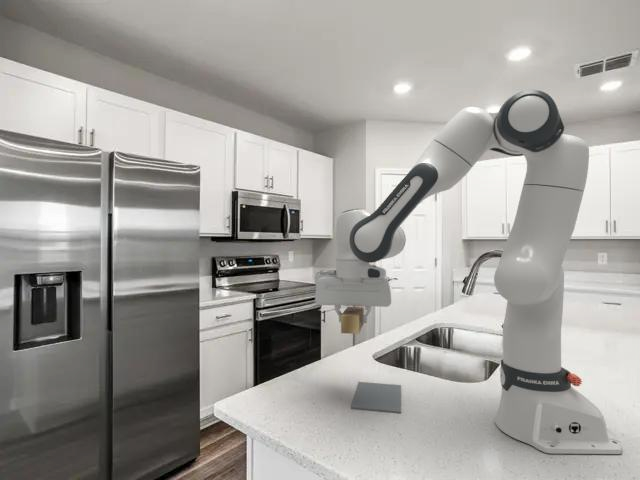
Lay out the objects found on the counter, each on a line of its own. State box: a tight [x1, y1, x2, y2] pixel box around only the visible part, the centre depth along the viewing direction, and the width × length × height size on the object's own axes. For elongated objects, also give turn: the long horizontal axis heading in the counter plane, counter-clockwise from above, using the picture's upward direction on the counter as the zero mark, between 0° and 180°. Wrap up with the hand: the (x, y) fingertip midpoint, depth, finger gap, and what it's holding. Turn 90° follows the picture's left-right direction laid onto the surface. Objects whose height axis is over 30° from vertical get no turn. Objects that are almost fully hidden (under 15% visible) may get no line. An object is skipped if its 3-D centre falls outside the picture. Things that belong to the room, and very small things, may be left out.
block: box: [340, 306, 365, 335], centre depth 96 cm, size 4×4×12 cm
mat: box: [350, 381, 402, 414], centre depth 95 cm, size 12×16×1 cm
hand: (353, 322), depth 96 cm, fingers closed on block, 4 cm apart
